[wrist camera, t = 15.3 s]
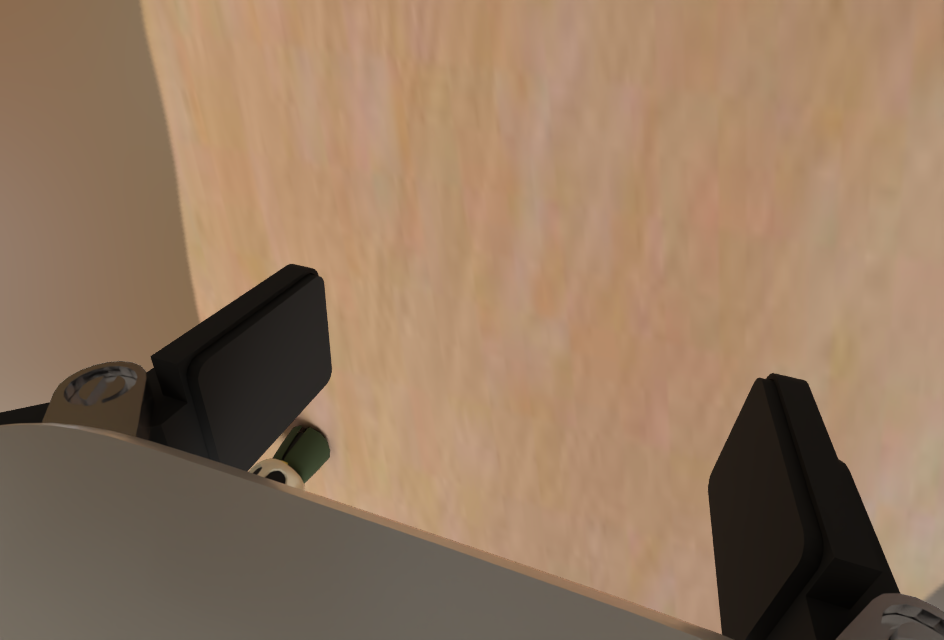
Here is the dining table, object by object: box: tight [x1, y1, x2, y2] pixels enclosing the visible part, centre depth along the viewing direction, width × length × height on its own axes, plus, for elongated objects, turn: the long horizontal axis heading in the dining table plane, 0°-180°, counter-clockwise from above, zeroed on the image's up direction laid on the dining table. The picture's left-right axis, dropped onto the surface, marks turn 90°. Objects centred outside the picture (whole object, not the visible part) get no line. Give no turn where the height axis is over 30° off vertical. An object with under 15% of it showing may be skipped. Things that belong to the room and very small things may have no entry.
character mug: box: [249, 426, 330, 491], centre depth 63 cm, size 11×7×13 cm, turn 93°
